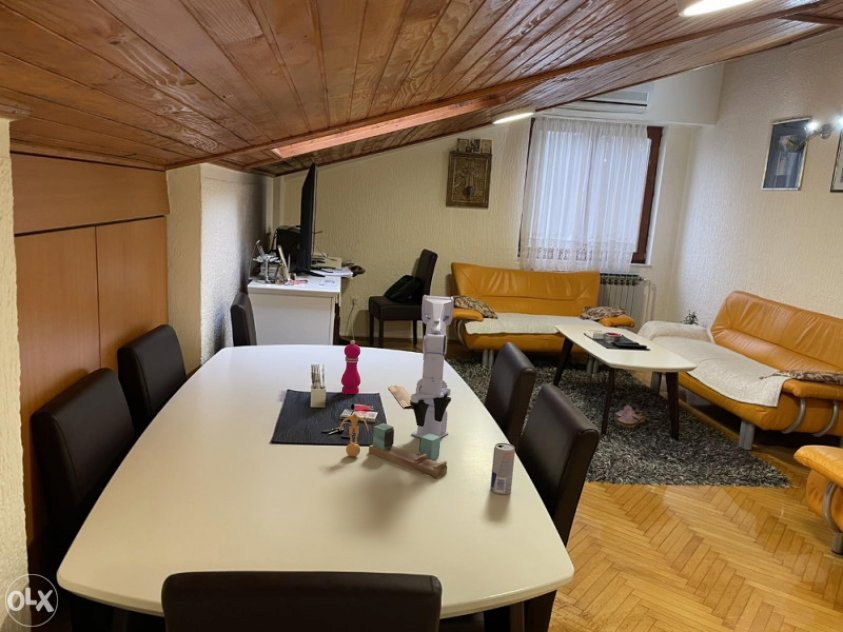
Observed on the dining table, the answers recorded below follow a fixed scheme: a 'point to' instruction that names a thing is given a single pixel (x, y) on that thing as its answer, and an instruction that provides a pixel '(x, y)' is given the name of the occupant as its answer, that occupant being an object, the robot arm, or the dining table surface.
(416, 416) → the robot arm
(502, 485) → the energy drink
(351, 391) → the pepper mill
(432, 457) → the block
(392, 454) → the rail
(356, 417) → the figurine
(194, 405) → the dining table surface
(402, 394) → the tan flat bar
